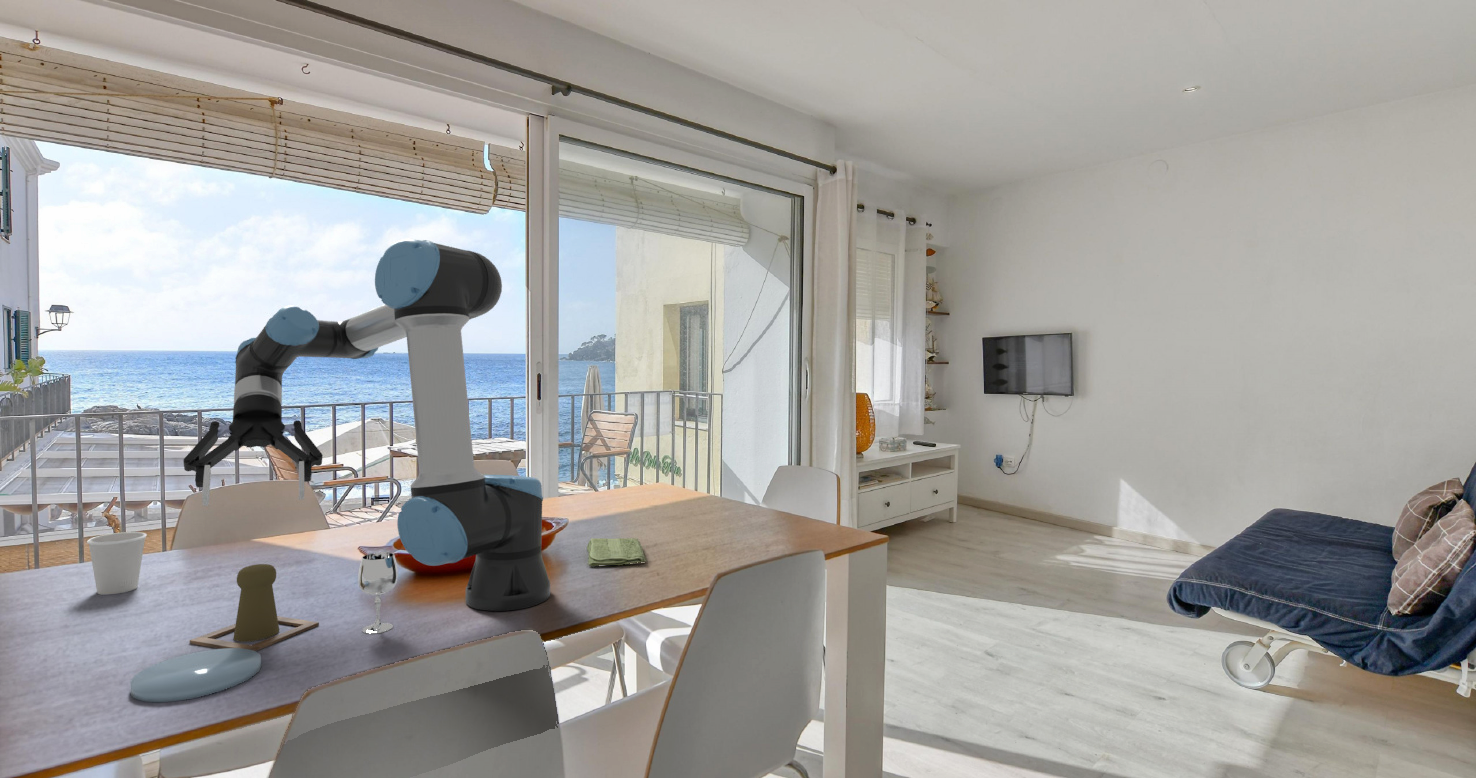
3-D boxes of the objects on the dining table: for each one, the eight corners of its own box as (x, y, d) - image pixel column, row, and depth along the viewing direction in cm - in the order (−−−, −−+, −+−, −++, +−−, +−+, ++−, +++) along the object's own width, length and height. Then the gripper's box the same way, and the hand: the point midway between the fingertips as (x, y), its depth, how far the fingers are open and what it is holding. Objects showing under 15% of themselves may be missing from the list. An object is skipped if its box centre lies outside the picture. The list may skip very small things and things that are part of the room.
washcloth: (587, 570, 149) (587, 555, 149) (586, 549, 166) (586, 536, 166) (647, 567, 152) (648, 553, 152) (640, 547, 169) (641, 534, 169)
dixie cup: (156, 586, 131) (156, 534, 131) (101, 599, 123) (100, 544, 123) (132, 580, 134) (132, 529, 134) (77, 592, 127) (77, 538, 127)
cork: (255, 643, 106) (255, 572, 105) (223, 639, 107) (223, 569, 107) (288, 628, 112) (288, 561, 111) (257, 625, 113) (257, 559, 112)
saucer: (285, 663, 99) (285, 655, 99) (182, 709, 85) (182, 699, 85) (212, 650, 102) (212, 642, 102) (103, 692, 89) (103, 683, 89)
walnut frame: (319, 625, 113) (319, 622, 113) (249, 653, 102) (249, 650, 102) (263, 616, 117) (263, 613, 117) (189, 643, 105) (189, 639, 105)
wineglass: (387, 619, 116) (388, 549, 116) (403, 627, 113) (404, 555, 113) (351, 628, 112) (352, 556, 112) (366, 638, 108) (367, 562, 108)
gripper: (332, 417, 139) (337, 504, 127) (175, 419, 125) (163, 516, 114) (335, 392, 135) (339, 480, 123) (171, 391, 121) (158, 490, 109)
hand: (255, 498), depth 118 cm, fingers open, 13 cm apart
